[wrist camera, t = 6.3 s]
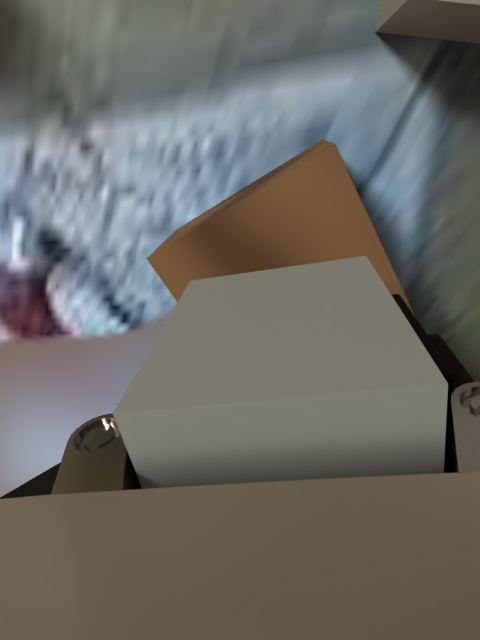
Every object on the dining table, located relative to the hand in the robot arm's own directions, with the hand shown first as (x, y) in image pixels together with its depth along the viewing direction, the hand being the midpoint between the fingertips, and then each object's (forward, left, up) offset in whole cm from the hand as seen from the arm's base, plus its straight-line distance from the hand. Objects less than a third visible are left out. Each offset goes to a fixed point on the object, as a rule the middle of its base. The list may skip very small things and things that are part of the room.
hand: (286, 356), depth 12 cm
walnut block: (0, 0, -10) cm, 10 cm away
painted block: (0, 0, -1) cm, 1 cm away
